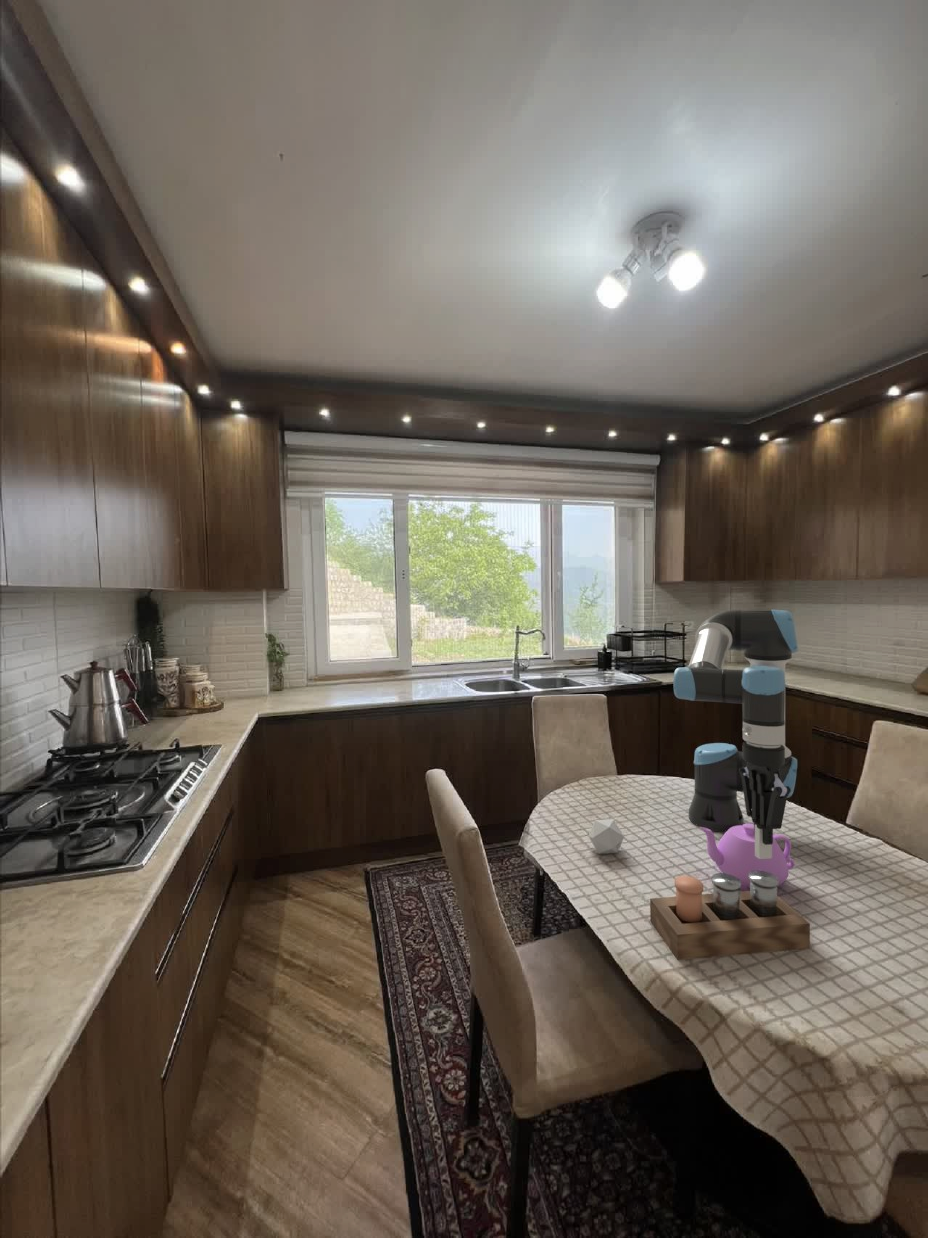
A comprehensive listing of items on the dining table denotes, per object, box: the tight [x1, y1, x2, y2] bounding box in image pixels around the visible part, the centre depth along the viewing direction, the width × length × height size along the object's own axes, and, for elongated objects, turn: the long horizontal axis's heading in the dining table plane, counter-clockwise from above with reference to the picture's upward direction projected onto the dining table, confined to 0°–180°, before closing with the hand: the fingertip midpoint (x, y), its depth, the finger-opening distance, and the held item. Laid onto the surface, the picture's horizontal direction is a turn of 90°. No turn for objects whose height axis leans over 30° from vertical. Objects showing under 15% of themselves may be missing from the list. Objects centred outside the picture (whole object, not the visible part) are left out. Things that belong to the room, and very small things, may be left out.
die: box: [588, 819, 625, 855], centre depth 143 cm, size 8×9×10 cm
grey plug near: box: [748, 870, 780, 917], centre depth 108 cm, size 5×5×7 cm
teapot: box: [699, 822, 795, 893], centre depth 127 cm, size 22×16×14 cm
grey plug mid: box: [711, 872, 741, 920], centre depth 107 cm, size 5×5×7 cm
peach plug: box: [674, 875, 704, 923], centre depth 107 cm, size 5×5×7 cm
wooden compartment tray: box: [649, 890, 811, 961], centre depth 108 cm, size 27×12×5 cm, turn 95°
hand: (763, 856), depth 107 cm, fingers closed
